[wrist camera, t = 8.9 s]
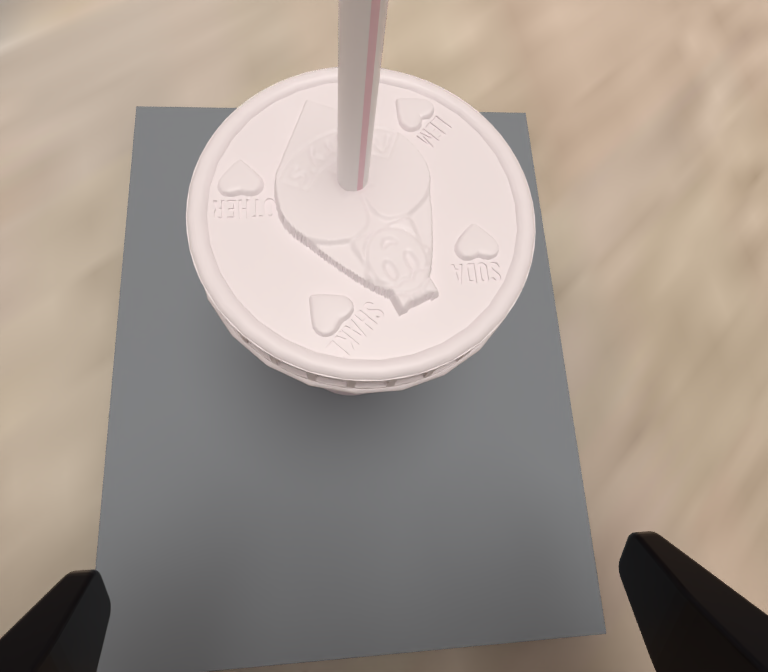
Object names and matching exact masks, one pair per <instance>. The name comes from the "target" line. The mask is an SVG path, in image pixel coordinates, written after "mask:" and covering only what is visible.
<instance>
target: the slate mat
mask: <svg viewBox="0 0 768 672" xmlns="http://www.w3.org/2000/svg"><path fill="white" fill-rule="evenodd" d="M236 109H237V108H198V107H138V106H137V107H136V118H135V129H134V140H133V152H132V163H131V174H130V185H129V197H128V208H127V219H126V231H125V242H124V253H123V264H122V276H121V287H120V298H119V310H118V321H117V332H116V343H115V355H114V366H113V377H112V389H111V400H110V411H109V422H108V434H107V445H106V456H105V468H104V479H103V490H102V501H101V513H100V524H99V535H98V546H97V558H96V569H95V570H97V571H98V572H100V574H101V576H102V579H103V582H104V584H105V587H106V590H107V592H108V595H109V598H110V601H111V613H110V618H109V623H108V627H107V631H106V635H105V639H104V643H103V647H102V652H101V656H100V660H99V664H98V668H97V672H207V671H218V670H229V669H239V668H250V667H260V666H271V665H281V664H292V663H302V662H313V661H324V660H334V659H345V658H355V657H366V656H376V655H387V654H397V653H408V652H419V651H429V650H440V649H450V648H461V647H471V646H482V645H492V644H503V643H514V642H524V641H535V640H545V639H556V638H566V637H577V636H587V635H598V634H606V629H605V622H604V616H603V609H602V603H601V596H600V590H599V583H598V577H597V571H596V564H595V558H594V551H593V545H592V538H591V532H590V526H589V519H588V513H587V506H586V500H585V493H584V487H583V480H582V474H581V468H580V461H579V455H578V448H577V442H576V435H575V429H574V423H573V416H572V410H571V403H570V397H569V390H568V384H567V377H566V371H565V365H564V358H563V352H562V345H561V339H560V332H559V326H558V319H557V313H556V307H555V300H554V294H553V287H552V281H551V274H550V268H549V262H548V255H547V249H546V242H545V236H544V229H543V223H542V216H541V210H540V204H539V197H538V191H537V184H536V178H535V171H534V165H533V159H532V152H531V146H530V139H529V133H528V126H527V120H526V113H496V112H479V113H480V114H481V115H483V116H484V117H485V118H486V119H487V120H488V121H489V122H490V123H491V124H492V125H493V126H494V128H495V129H496V130H497V131H498V132H499V133H500V134H501V136H502V137H503V138H504V140H505V141H506V143H507V144H508V145H509V147H510V148H511V150H512V151H513V153H514V155H515V157H516V158H517V160H518V162H519V164H520V166H521V168H522V170H523V172H524V175H525V177H526V180H527V183H528V186H529V189H530V193H531V197H532V201H533V207H534V214H535V231H536V233H535V248H534V253H533V259H532V264H531V267H530V270H529V274H528V277H527V280H526V282H525V284H524V287H523V289H522V291H521V293H520V295H519V297H518V299H517V301H516V302H515V304H514V306H513V307H512V309H511V310H510V311H509V313H508V314H507V316H506V318H505V319H504V320H503V322H502V323H501V324H500V325H499V327H498V328H497V329H496V330H495V332H494V333H493V334H492V335H491V337H490V338H489V339H488V340H487V342H486V343H485V344H484V345H483V347H482V348H481V349H480V350H479V351H478V352H476V353H475V354H474V355H472V356H471V357H469V358H468V359H467V360H465V361H464V362H462V363H461V364H459V365H458V366H457V367H455V368H454V369H452V370H451V371H450V372H448V373H447V374H445V375H443V376H440V377H438V378H435V379H432V380H429V381H427V382H424V383H421V384H418V385H415V386H413V387H410V388H407V389H404V390H399V391H387V392H374V393H365V394H361V395H350V396H349V395H340V394H336V393H333V392H330V391H328V390H326V389H324V388H320V387H314V386H309V385H307V384H305V383H303V382H301V381H299V380H297V379H294V378H292V377H290V376H288V375H286V374H284V373H282V372H280V371H277V370H275V369H273V368H271V367H269V366H267V365H266V364H265V363H263V362H262V361H261V360H260V359H259V358H258V357H256V356H255V355H254V354H253V353H252V352H251V351H249V350H248V349H247V348H246V347H245V346H244V345H242V344H241V343H240V342H239V341H238V340H236V339H235V338H234V337H233V336H232V335H231V333H230V332H229V330H228V329H227V327H226V326H225V324H224V323H223V321H222V320H221V318H220V317H219V315H218V314H217V312H216V311H215V309H214V308H213V306H212V305H211V303H210V302H209V300H208V298H207V294H206V291H205V288H204V286H203V284H202V283H201V281H200V278H199V276H198V273H197V271H196V269H195V266H194V263H193V260H192V256H191V253H190V249H189V243H188V237H187V228H186V208H187V197H188V192H189V186H190V182H191V179H192V176H193V172H194V169H195V167H196V164H197V162H198V160H199V157H200V155H201V153H202V152H203V150H204V148H205V146H206V144H207V143H208V141H209V140H210V138H211V137H212V135H213V134H214V133H215V131H216V130H217V129H218V127H219V126H220V125H221V124H222V123H223V122H224V120H225V119H226V118H227V117H228V116H229V115H230V114H231V113H232V112H234V111H235V110H236Z"/></svg>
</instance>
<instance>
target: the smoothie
mask: <svg viewBox="0 0 768 672" xmlns="http://www.w3.org/2000/svg"><path fill="white" fill-rule="evenodd" d="M387 7H388V0H339V16H338V67H334V68H326V69H319V70H315V71H310V72H306V73H302V74H299V75H296V76H293V77H290V78H287V79H285V80H282V81H280V82H277V83H275V84H273V85H271V86H269V87H268V88H266V89H264V90H262V91H260V92H259V93H257V94H256V95H254V96H252V97H251V98H249V99H248V100H247V101H246V102H244V103H243V104H242V105H240V106H239V107H238V108H237V109H236V110H235V111H234V112H232V113H231V114H230V115H229V116H228V117H227V118H226V119H225V120H224V122H223V123H222V124H221V125H220V126H219V127H218V129H217V130H216V131H215V133H214V134H213V135H212V137H211V138H210V140H209V141H208V143H207V144H206V146H205V148H204V150H203V152H202V153H201V155H200V157H199V160H198V162H197V164H196V167H195V169H194V172H193V176H192V179H191V182H190V186H189V192H188V197H187V208H186V228H187V237H188V243H189V249H190V253H191V256H192V260H193V263H194V266H195V269H196V271H197V273H198V276H199V278H200V281H201V283H202V284H203V286H204V288H205V291H206V294H207V298H208V300H209V302H210V303H211V305H212V306H213V308H214V309H215V311H216V312H217V314H218V315H219V317H220V318H221V320H222V321H223V323H224V324H225V326H226V327H227V329H228V330H229V332H230V333H231V335H232V336H233V337H234V338H235V339H236V340H238V341H239V342H240V343H241V344H242V345H244V346H245V347H246V348H247V349H248V350H249V351H251V352H252V353H253V354H254V355H255V356H256V357H258V358H259V359H260V360H261V361H262V362H263V363H265V364H266V365H267V366H269V367H271V368H273V369H275V370H277V371H280V372H282V373H284V374H286V375H288V376H290V377H292V378H294V379H297V380H299V381H301V382H303V383H305V384H307V385H309V386H314V387H320V388H324V389H326V390H328V391H330V392H333V393H336V394H340V395H349V396H350V395H361V394H365V393H374V392H387V391H399V390H404V389H407V388H410V387H413V386H415V385H418V384H421V383H424V382H427V381H429V380H432V379H435V378H438V377H440V376H443V375H445V374H447V373H448V372H450V371H451V370H452V369H454V368H455V367H457V366H458V365H459V364H461V363H462V362H464V361H465V360H467V359H468V358H469V357H471V356H472V355H474V354H475V353H476V352H478V351H479V350H480V349H481V348H482V347H483V345H484V344H485V343H486V342H487V340H488V339H489V338H490V337H491V335H492V334H493V333H494V332H495V330H496V329H497V328H498V327H499V325H500V324H501V323H502V322H503V320H504V319H505V318H506V316H507V314H508V313H509V311H510V310H511V309H512V307H513V306H514V304H515V302H516V301H517V299H518V297H519V295H520V293H521V291H522V289H523V287H524V284H525V282H526V280H527V277H528V274H529V270H530V267H531V264H532V259H533V253H534V248H535V233H536V231H535V214H534V207H533V201H532V197H531V193H530V189H529V186H528V183H527V180H526V177H525V175H524V172H523V170H522V168H521V166H520V164H519V162H518V160H517V158H516V157H515V155H514V153H513V151H512V150H511V148H510V147H509V145H508V144H507V143H506V141H505V140H504V138H503V137H502V136H501V134H500V133H499V132H498V131H497V130H496V129H495V128H494V126H493V125H492V124H491V123H490V122H489V121H488V120H487V119H486V118H485V117H484V116H483V115H481V114H480V113H479V112H478V111H477V110H476V109H474V108H473V107H472V106H471V105H469V104H468V103H467V102H465V101H464V100H462V99H461V98H459V97H458V96H456V95H454V94H453V93H451V92H449V91H447V90H446V89H444V88H442V87H440V86H438V85H436V84H433V83H431V82H429V81H426V80H424V79H421V78H418V77H416V76H413V75H409V74H405V73H402V72H398V71H393V70H388V69H384V68H381V61H382V52H383V43H384V34H385V25H386V16H387Z"/></svg>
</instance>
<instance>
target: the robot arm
mask: <svg viewBox="0 0 768 672" xmlns="http://www.w3.org/2000/svg"><path fill="white" fill-rule="evenodd" d="M619 573H620V577H621V580H622V583H623V585H624V588H625V591H626V593H627V596H628V599H629V602H630V604H631V607H632V610H633V612H634V615H635V618H636V621H637V623H638V626H639V629H640V631H641V634H642V637H643V640H644V642H645V645H646V648H647V650H648V653H649V655H650V658H651V660H652V663H653V665H654V668H655V670H656V672H768V615H767V614H765V613H764V612H763V611H761V610H760V609H759V608H757V607H756V606H755V605H753V604H752V603H751V602H749V601H748V600H747V599H745V598H744V597H743V596H741V595H740V594H738V593H737V592H736V591H734V590H733V589H732V588H730V587H729V586H728V585H726V584H725V583H724V582H722V581H721V580H720V579H718V578H717V577H716V576H714V575H713V574H712V573H710V572H709V571H708V570H706V569H705V568H704V567H702V566H701V565H699V564H698V563H697V562H695V561H694V560H693V559H691V558H690V557H689V556H687V555H686V554H685V553H683V552H682V551H681V550H679V549H678V548H677V547H675V546H674V545H673V544H671V543H670V542H669V541H667V540H666V539H665V538H663V537H662V536H660V535H659V534H657V533H655V532H651V531H647V532H634V533H632V534H630V535H629V537H628V539H627V542H626V544H625V547H624V550H623V552H622V555H621V558H620V561H619ZM110 613H111V601H110V598H109V595H108V592H107V590H106V587H105V584H104V582H103V579H102V576H101V574H100V572H98V571H97V570H80V571H73V572H70V573H68V574H67V575H65V576H64V577H63V578H62V579H61V580H60V581H59V582H58V583H57V584H56V585H55V586H54V587H53V588H52V589H51V590H50V591H49V592H48V593H47V594H46V595H45V596H44V597H43V598H42V599H41V600H40V601H39V602H38V603H37V604H36V605H34V606H33V607H32V608H31V609H30V610H29V611H28V612H27V613H26V614H25V615H24V616H23V617H22V618H21V619H20V620H19V621H18V622H17V623H16V624H15V625H14V626H13V627H12V628H11V629H10V630H9V631H8V632H7V633H6V634H5V635H4V636H3V637H2V638H1V639H0V672H97V668H98V664H99V660H100V656H101V652H102V647H103V643H104V639H105V635H106V631H107V627H108V623H109V618H110Z"/></svg>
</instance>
